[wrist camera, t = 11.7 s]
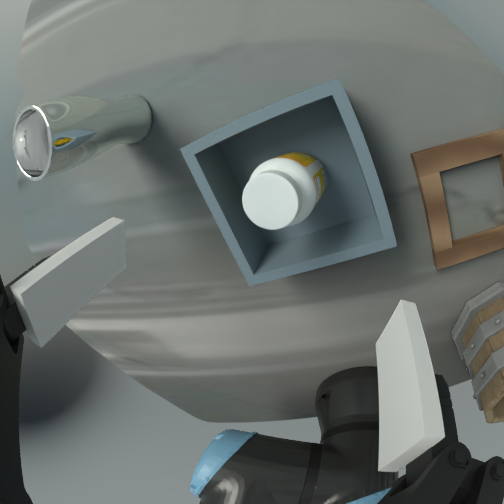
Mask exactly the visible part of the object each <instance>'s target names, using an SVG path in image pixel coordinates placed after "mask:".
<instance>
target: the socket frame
mask: <svg viewBox="0 0 504 504" xmlns="http://www.w3.org/2000/svg"><path fill="white" fill-rule="evenodd" d="M410 155H411V158H412V161H413V165H414V168H415V172H416V176H417V179H418V183H419V187H420V191H421V195H422V200H423V204H424V208H425V213H426V218H427V223H428V228H429V233H430V239H431V245H432V251H433V258H434V265H435V267H436V269H437V270H439V269H442V268H445V267H449V266H452V265H455V264H458V263H461V262H464V261H467V260H470V259H473V258H476V257H479V256H482V255H485V254H487V253H490V252H493V251H496V250H499V249H501V248H504V224H503V225H500V226H497V227H494V228H492V229H489V230H486V231H483V232H480V233H477V234H474V235H471V236H468V237H465V238H462V239H458V240H455V241H452V239H451V232H450V225H449V219H448V213H447V207H446V202H445V197H444V192H443V187H442V183H441V178H440V174H439V172H441V171H444V170H448V169H451V168H454V167H458V166H461V165H465V164H468V163H472V162H475V161H479V160H482V159H486V158H489V157H493V156H497V155H499V159H500V165H501V171H502V177H503V185H504V129H500V130H496V131H492V132H488V133H484V134H480V135H476V136H472V137H469V138H465V139H461V140H457V141H454V142H450V143H446V144H443V145H439V146H436V147H432V148H429V149H425V150H422V151H418V152H415V153H411V154H410Z"/></svg>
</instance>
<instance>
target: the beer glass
mask: <svg viewBox="0 0 504 504" xmlns="http://www.w3.org/2000/svg"><path fill="white" fill-rule="evenodd" d="M151 123H152V113H151V109H150V106H149V104H148V103H147V101H146V100H145V99H144V98H142V97H140V96H138V95H127V96H123V97H121V98H118V99H112V100H109V99H102V98H95V97H87V96H70V97H62V98H57V99H52V100H48V101H44V102H41V103H38V104H34V105H29V106H27V107H25V108H24V109H23V110H22V111H21V112H20V114H19V115H18V117H17V120H16V122H15V126H14V131H13V149H14V154H15V158H16V161H17V164H18V166H19V168H20V170H21V172H22V173H23V174H24V175H25V176H26V177H27V178H28V179H30V180H32V181H38V180H41V179H43V178H46V177H49V176H52V175H56V174H59V173H62V172H65V171H68V170H71V169H73V168H76V167H78V166H80V165H82V164H84V163H86V162H88V161H90V160H92V159H93V158H95V157H97V156H98V155H100V154H102V153H103V152H105V151H106V150H108V149H110V148H111V147H113V146H115V145H119V144H133V143H137V142H139V141H141V140H142V139H143V138H144V137H145V136H146V135H147V134H148V132H149V130H150V127H151Z"/></svg>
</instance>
